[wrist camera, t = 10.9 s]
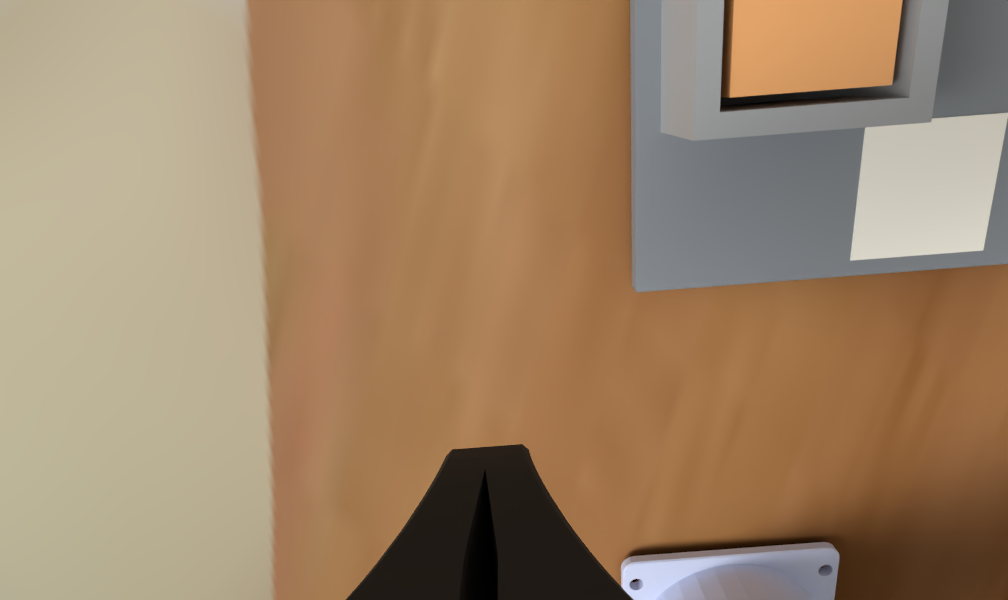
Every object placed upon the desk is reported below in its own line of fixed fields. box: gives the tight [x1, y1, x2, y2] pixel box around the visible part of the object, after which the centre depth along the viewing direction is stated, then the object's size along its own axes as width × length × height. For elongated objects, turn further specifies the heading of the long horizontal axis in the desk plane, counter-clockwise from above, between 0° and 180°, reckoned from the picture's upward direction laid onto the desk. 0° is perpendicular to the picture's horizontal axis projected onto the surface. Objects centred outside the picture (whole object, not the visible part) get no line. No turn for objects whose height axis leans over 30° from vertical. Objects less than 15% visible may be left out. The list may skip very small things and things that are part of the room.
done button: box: [721, 0, 903, 98], centre depth 15 cm, size 4×4×2 cm
